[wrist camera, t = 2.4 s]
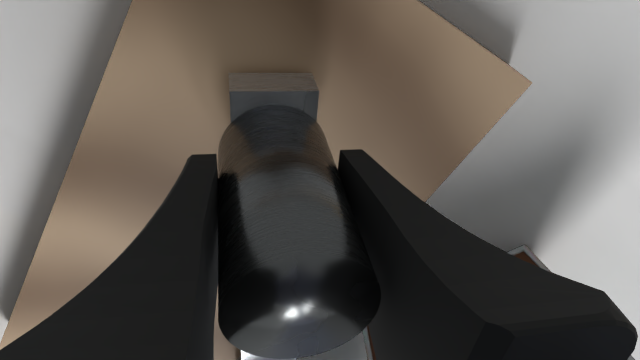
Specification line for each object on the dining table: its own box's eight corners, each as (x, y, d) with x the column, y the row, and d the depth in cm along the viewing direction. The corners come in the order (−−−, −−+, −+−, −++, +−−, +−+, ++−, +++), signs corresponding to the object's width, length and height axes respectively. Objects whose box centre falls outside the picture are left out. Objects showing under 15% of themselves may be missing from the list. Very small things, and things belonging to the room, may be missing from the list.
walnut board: (253, 364, 25) (255, 390, 24) (9, 323, 19) (-4, 354, 18) (509, 65, 16) (532, 83, 15) (195, -159, 11) (193, -158, 10)
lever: (297, 374, 23) (321, 535, 18) (234, 382, 22) (239, 552, 17) (325, 72, 13) (398, 231, 8) (214, 72, 12) (211, 244, 7)
